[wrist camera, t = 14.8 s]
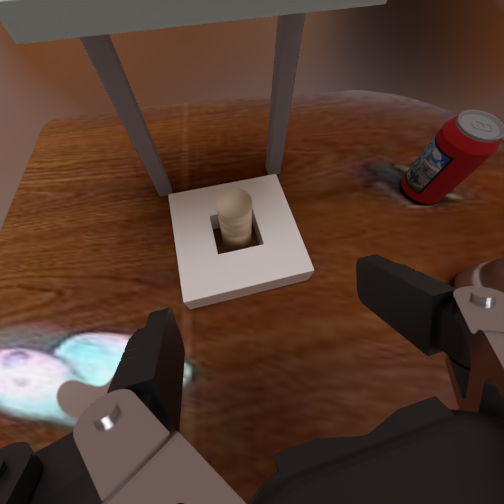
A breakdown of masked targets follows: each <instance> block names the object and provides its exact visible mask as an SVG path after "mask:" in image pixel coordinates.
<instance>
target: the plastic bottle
mask: <svg viewBox="0 0 504 504" xmlns="http://www.w3.org/2000/svg"><path fill="white" fill-rule="evenodd" d="M466 286H478V287H486V288H491V289H495V290H498V291H501V292H503V293H504V257H502V258H499V259H497V260H494V261H491V262H485V263H481V264H477V265H474V266H470V267H468V268H466V269H465V270H463V271H462V272H461V273H459V274H458V275H457V276H456V278H455V281H454V288H456V289H458V288H461V287H466Z"/></svg>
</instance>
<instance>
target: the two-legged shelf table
mask: <svg viewBox="0 0 504 504" xmlns="http://www.w3.org/2000/svg"><path fill="white" fill-rule="evenodd" d="M386 1H387V0H0V22H1V23H2V25H3V26H4V27H5V29H6V30H7V32H8V33H9V34H10V36H11V37H12V39H13V40H14V42H15V43H16V44H22V43H32V42H41V41H49V40H59V39H69V38H78V37H80V39H81V41H82V43H83V45H84V47H85V49H86V51H87V53H88V55H89V57H90V59H91V61H92V63H93V65H94V67H95V69H96V71H97V73H98V75H99V77H100V79H101V81H102V83H103V85H104V87H105V89H106V91H107V92H108V95H109V97H110V99H111V101H112V103H113V105H114V107H115V109H116V111H117V113H118V115H119V117H120V119H121V121H122V123H123V125H124V127H125V129H126V131H127V133H128V135H129V137H130V139H131V141H132V143H133V144H134V146H135V148H136V150H137V152H138V154H139V156H140V158H141V160H142V162H143V164H144V166H145V168H146V170H147V172H148V174H149V176H150V178H151V180H152V182H153V184H154V186H155V188H156V190H157V192H158V194H159V196H166V195H168V194H172V188H171V183H170V181H169V179H168V176H167V174H166V171H165V169H164V166H163V164H162V162H161V159H160V157H159V154H158V152H157V149H156V147H155V145H154V142H153V140H152V137H151V135H150V132H149V130H148V128H147V125H146V123H145V120H144V118H143V115H142V113H141V111H140V108H139V106H138V103H137V101H136V98H135V96H134V94H133V91H132V89H131V86H130V84H129V82H128V79H127V77H126V74H125V72H124V70H123V67H122V64H121V62H120V60H119V57H118V55H117V52H116V50H115V48H114V45H113V43H112V40H111V38H110V35H109V34H114V33H124V32H133V31H142V30H151V29H160V28H169V27H178V26H188V25H196V24H206V23H215V22H224V21H233V20H242V19H251V18H261V17H270V16H278V21H277V33H276V45H275V57H274V70H273V81H272V93H271V105H270V117H269V129H268V141H267V153H266V165H265V168H266V170H267V173H268V175H273V174H280V170H281V164H282V158H283V151H284V145H285V139H286V133H287V126H288V120H289V114H290V108H291V101H292V95H293V88H294V83H295V76H296V70H297V64H298V58H299V51H300V45H301V39H302V32H303V26H304V20H305V13H307V12H316V11H325V10H334V9H343V8H352V7H362V6H370V5H380V4H386Z"/></svg>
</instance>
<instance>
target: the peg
mask: <svg viewBox="0 0 504 504" xmlns="http://www.w3.org/2000/svg"><path fill="white" fill-rule="evenodd" d="M216 208H217V213H218V218H219V223H220V228H221V234H222V239H223V244H224V248H225V249H226V251H227V252H232V251H236V250H241V249H245V248H249V247H250V246H251V228H252V199H251V196H250V195H249V194H248V193H247V192H246V191H245V190H243V189H240V188H229V189H226V190H224V191H222V192H221V193H220V194H219V195H218V196H217V199H216Z"/></svg>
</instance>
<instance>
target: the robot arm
mask: <svg viewBox="0 0 504 504" xmlns="http://www.w3.org/2000/svg"><path fill="white" fill-rule="evenodd" d="M356 272H357V293H358V296H359V298H360V300H361V302H362V303H363V304H364V305H365V306H366V307H368V308H369V309H370V310H371V311H372V312H374V313H375V314H376V315H377V316H379V317H380V318H381V319H382V320H384V321H385V322H386V323H387V324H389V325H390V326H391V327H392V328H394V329H395V330H396V331H397V332H399V333H400V334H401V335H402V336H404V337H405V338H406V339H407V340H408V341H410V342H411V343H412V344H413V345H415V346H416V347H417V348H418V349H420V350H421V351H422V352H423V353H425V354H426V355H427V356H430V355H433V354H436V353H439V352H442V351H443V352H445V353H446V360H445V362H446V366H447V369H448V373H449V376H450V379H451V383H452V386H453V389H454V393H455V396H456V400H457V403H458V406H459V410H449V409H448V408H447V407H446V406H445V405H444V404H443V403H442V402H441V401H440V400H439V399H438V398H437V397H436V396H434V397H431V398H428V399H426V400H423V401H420V402H417V403H415V404H412V405H409V406H406V407H403V408H401V409H398V410H397V411H396V412H395V413H393V414H392V415H391V416H390V417H388V418H387V419H386V420H385V421H384V422H382V423H381V424H380V425H379V426H378V427H376V428H375V429H374V430H373V431H371V432H370V433H369V434H367V435H364V436H354V437H338V438H322V439H315V440H312V441H309V442H307V443H304V444H301V445H298V446H296V447H293V448H290V449H287V450H284V451H282V452H279V453H276V454H274V455H275V459H276V463H277V468H278V471H277V472H276V473H274V474H273V475H272V476H271V477H269V478H268V479H267V481H266V482H265V483H264V484H263V485H262V486H261V487H260V488H259V489H258V491H257V492H256V493H255V495H254V496H253V497H252V499H251V500H250V502H249V504H504V293H503V292H501V291H498V290H495V289H491V288H486V287H478V286H466V287H461V288H458V289H456V288H454V287H452V286H450V285H447V284H445V283H443V282H441V281H439V280H436V279H434V278H432V277H430V276H428V275H426V276H425V274H423V273H421V272H419V271H415V269H412V268H410V267H408V266H406V265H403V264H398V263H394V262H392V261H390V260H388V259H386V258H384V257H382V256H379V255H377V254H374V255H370V256H367V257H363V258H359V259H358V260H357V263H356ZM184 358H185V351H184V345H183V340H182V337H181V334H180V331H179V329H178V326H177V323H176V320H175V317H174V314H173V311H172V309H171V308H167V309H163V310H159V311H155V312H151V313H150V314H149V317H148V320H147V323H146V326H145V328H141V329H138V330H137V331H136V332H135V333H134V334H133V336H132V337H131V338H130V339H129V341H128V343H127V345H126V348H125V352H124V353H123V355H122V358H121V361H120V362H119V365H118V367H117V370H116V372H115V375H114V377H113V380H112V382H111V385H110V387H109V389H108V392H107V394H106V395H104V396H102V397H100V398H99V399H97V400H96V401H95V402H94V403H92V404H91V405H90V406H89V407H88V408H87V409H86V410H85V411H84V412H83V414H82V415H81V416H80V417H79V419H78V421H77V423H76V425H75V427H74V431H73V432H72V433H70V434H68V435H66V436H65V437H63V438H61V439H59V440H58V441H56V442H54V443H52V444H50V445H49V446H47V447H45V448H43V449H41V450H40V451H38V452H36V453H35V452H34V450H33V449H32V448H31V446H30V445H29V444H28V443H25V442H18V443H14V444H10V445H8V446H5V447H3V448H1V449H0V504H246V503H245V502H244V501H243V500H242V499H241V498H240V497H239V496H238V495H237V494H236V492H235V491H234V490H233V489H232V488H231V487H230V486H229V485H228V484H227V483H226V482H225V481H224V480H223V479H222V478H221V477H220V475H219V474H218V473H217V472H216V471H215V470H214V469H213V468H212V467H211V466H210V465H209V464H208V463H207V462H206V461H205V460H204V458H203V457H202V456H201V455H200V454H199V453H198V452H197V451H196V450H195V449H194V448H193V447H192V446H191V445H190V444H189V442H188V441H187V440H186V439H185V438H184V437H183V436H182V435H181V434H180V433H179V427H180V413H181V399H182V386H183V372H184Z"/></svg>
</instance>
